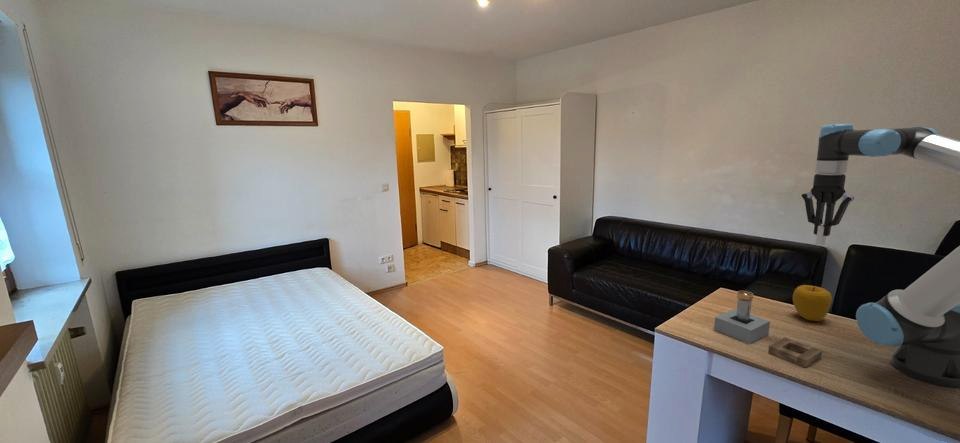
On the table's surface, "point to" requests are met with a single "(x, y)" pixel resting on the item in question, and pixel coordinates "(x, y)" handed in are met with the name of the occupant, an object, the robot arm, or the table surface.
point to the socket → (742, 327)
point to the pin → (744, 306)
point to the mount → (803, 359)
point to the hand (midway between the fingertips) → (820, 244)
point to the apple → (812, 302)
